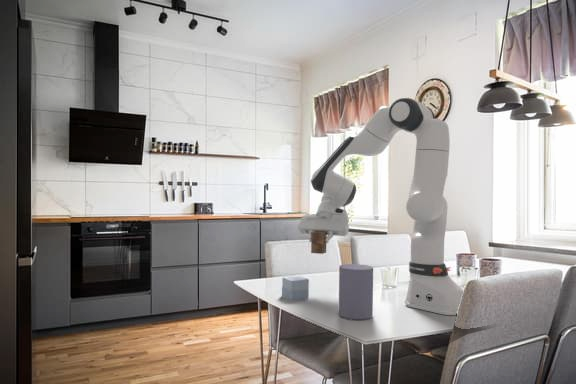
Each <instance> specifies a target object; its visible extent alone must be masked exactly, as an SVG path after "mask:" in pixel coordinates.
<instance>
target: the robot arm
mask: <svg viewBox="0 0 576 384" xmlns="http://www.w3.org/2000/svg"><path fill="white" fill-rule="evenodd" d="M399 131H405V132H407V133H409V134H410V133H411V134H414V135H415V138H416V145H415V146H416V147H415V155H414V156H415V157H414V168H413V175H412V181H411V184H410V187H409V188H410V189H409V194H408V198H407V201H406V205H405V206H406V212H407V214H408V216H409V217H410V218H411V219H412V220H413V222H414V223H413V229H412V233H411V237H410V261H409V264H408V272H409V280H408V289H407V292H406V297H405V300H404V303H405V306H406V307H409V308H413V309H417V310H422V311H427V312H432V313H436V314H440V315H444V316H445V315H446V316H457V315H456V314H457V311H458V307H459V304H460V301H461V297H462V294H463V291H464V290H463V289H462V288H461V286H459V285H458V284H457V283H456V282H455V280H453V279H452V278H451V277H450V276H449V273H448V272H450V271H452V270H451V268H452V267H450V266H449V267H447V266H446V263H445V236H446V230H447V229H446V228H447V218H448V201H447V199H446V198H445V196H444V190H445V185H446V182H447V181H446V180H447V178H448V171H449V170H448V169H449V159H450V148H451V146H450V129H449V125H448V124H447V122H445V121H444V120H442V119H440V118H439V119H438V118H436V115H435V113H434V111H433V110H432V109H431V108H430V107H429V106H426V105H425V104H423V102H421V101H419V100H415V99H414V98H410V97H401V98H398V99H396V100H395V101H393V103H392V104H391V105H390V106H381V107H379V108H378V110H377V111H376V112H375V113H374V114H373V115H372V116H371V117H370V119H369V120H368V122H367V123H366V124H365V126H364V128H363V129H362V130H361V131H360V132H358V133H357V134H355V135H349V136H348V137H347V138H346V139H344V141H343V142H341V144H340V145H339V146H338V147H337V148H336V149H335V150H334V152H332V154H331V155H330V156H329V157H328V158H327V159H326V160H325V162H323V164H322V165H321V166H320V167H319V168H317V169H316V170H315V171H314V172H313V174H312V176H311V180H310V183H311V186H312V188H313V190H315V191H317V192H319V193H322V197H321V198H320V199H321V201H320V203H319V205H318V208H317V209H316V214H315V213H314V214H310V213H308V214H306V215H302V217H301V220H300V221H299V223H298V225H297V229H298V232H299V234H302V235H303V234H304V235H309V238H308V240H309V243H311V232H315V231H319V232H327V235H326V237H324V243H326V244H329V241H330V240H331V239H332V238H333V237H334V236H338V237H346V236H347V235H348V234H349V231H350V230H349V229H350V224H349V223H350V222H349V221H350V220H349V215H348V212H347V210H345V209H343V208H344V207H346V206H348V205H350V204H351V203H352V202H353V200H354V199H355V196H356V193H357V186H356V183H355V182H353V181H352V180H350V179H348V178H346V177H345V176H342V175H341V174H339V173H337V172H335V171H334V169H335V168H336V167H337V166H338V165H339V164H340V162H341V161H342V160H343V159H344V158H345V157H348V156H349V155H358V156H363V157H374V156H378V155H380V154H382V153H383V152H384V151H385V149H386V148H387V146H388V145H389V144H390V142H391V141H392V139H393V138H394V136H395V135H396V134H397V133H398V132H399Z"/></svg>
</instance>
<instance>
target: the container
mask: <svg viewBox="0 0 576 384" xmlns="http://www.w3.org/2000/svg"><path fill="white" fill-rule="evenodd" d="M338 267H339V268H338V270H339V271H338V273H339V274H338V316H340V317H341V318H343V319H345V318H346V319H345V320H350V319H352V320H354V321H365V320H364V319H366V320H369V319H371V318H373V309H374V307H373V305H374V302H373V301H374V267H373V266H371V265H367V264H357V263H356V264H355V263H347V264H345V263H344V264H340V265H338ZM352 320H351V321H352Z"/></svg>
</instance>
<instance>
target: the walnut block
mask: <svg viewBox="0 0 576 384" xmlns="http://www.w3.org/2000/svg"><path fill="white" fill-rule="evenodd" d="M327 236H328V235H327V232H319V231H315V232H311V242H310V243H311V244H310V248H311V249H310V253H311V254H317V255H318V254H319V255H323V254H325V253H327V243H324V237H327Z"/></svg>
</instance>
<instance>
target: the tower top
mask: <svg viewBox="0 0 576 384" xmlns="http://www.w3.org/2000/svg"><path fill="white" fill-rule="evenodd" d="M309 283H310V280H309V278H307V277H303V276H300V275H296V276H294V275H293V276H285V277H284V276H283V277H282V285H281V288H282V287H283V288H286V289H288V290H290V291H295V290H305V289H309V286H310V284H309Z"/></svg>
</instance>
